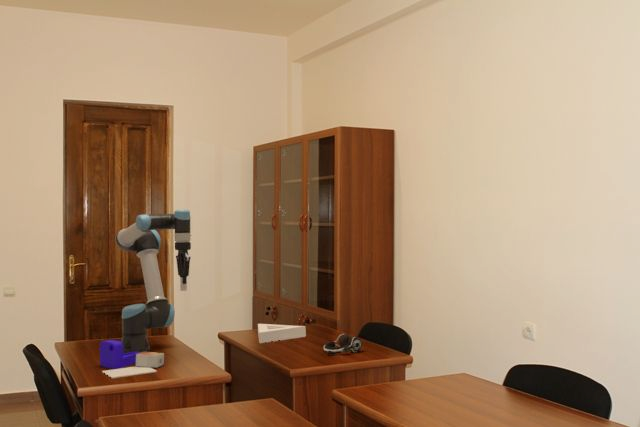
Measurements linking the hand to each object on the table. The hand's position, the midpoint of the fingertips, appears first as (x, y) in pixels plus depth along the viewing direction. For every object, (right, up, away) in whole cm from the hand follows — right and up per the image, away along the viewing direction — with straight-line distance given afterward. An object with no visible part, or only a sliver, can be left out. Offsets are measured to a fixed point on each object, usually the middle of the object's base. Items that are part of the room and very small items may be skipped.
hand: (183, 290), depth 351 cm
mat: (-19, -33, -29) cm, 48 cm away
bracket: (-26, -33, -12) cm, 44 cm away
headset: (+76, -32, +8) cm, 83 cm away
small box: (-7, -30, -19) cm, 36 cm away
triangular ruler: (+45, -32, +49) cm, 74 cm away
